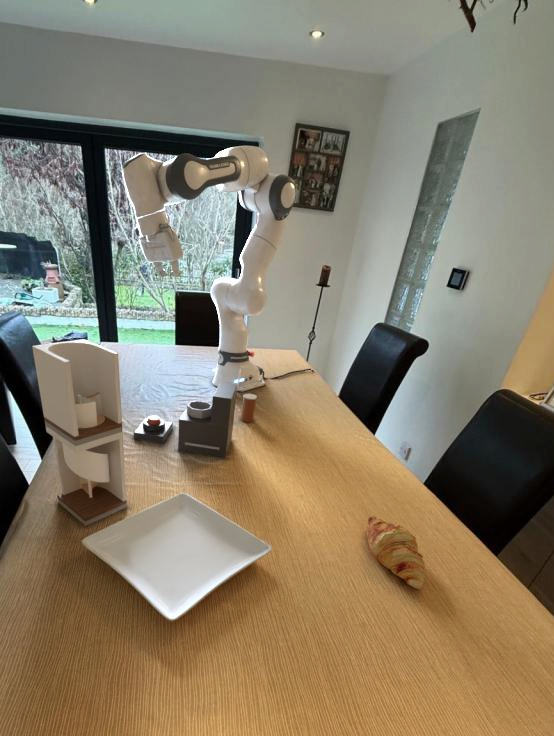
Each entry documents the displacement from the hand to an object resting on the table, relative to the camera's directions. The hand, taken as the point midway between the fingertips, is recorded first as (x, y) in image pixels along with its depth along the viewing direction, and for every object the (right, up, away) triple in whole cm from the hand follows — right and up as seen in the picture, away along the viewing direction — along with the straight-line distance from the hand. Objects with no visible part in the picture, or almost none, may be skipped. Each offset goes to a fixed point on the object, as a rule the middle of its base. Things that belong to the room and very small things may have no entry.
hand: (169, 276), depth 129 cm
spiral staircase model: (-13, -71, -33) cm, 79 cm away
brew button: (-5, -46, -2) cm, 46 cm away
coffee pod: (+25, -42, +15) cm, 51 cm away
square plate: (+8, -81, -45) cm, 93 cm away
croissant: (+53, -82, -40) cm, 105 cm away
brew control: (-5, -49, 0) cm, 49 cm away
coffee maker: (+11, -53, -4) cm, 55 cm away
